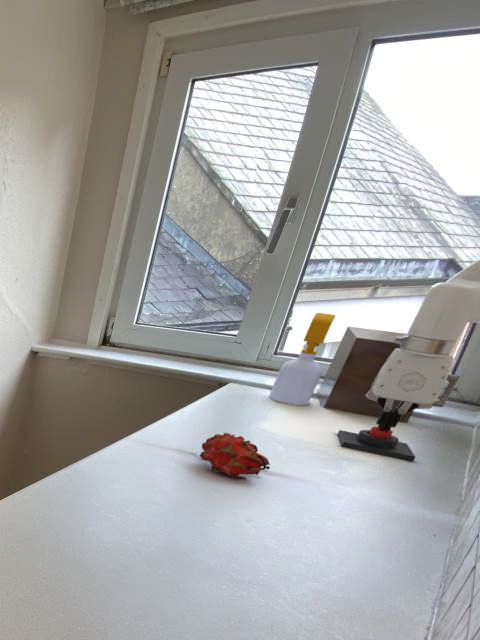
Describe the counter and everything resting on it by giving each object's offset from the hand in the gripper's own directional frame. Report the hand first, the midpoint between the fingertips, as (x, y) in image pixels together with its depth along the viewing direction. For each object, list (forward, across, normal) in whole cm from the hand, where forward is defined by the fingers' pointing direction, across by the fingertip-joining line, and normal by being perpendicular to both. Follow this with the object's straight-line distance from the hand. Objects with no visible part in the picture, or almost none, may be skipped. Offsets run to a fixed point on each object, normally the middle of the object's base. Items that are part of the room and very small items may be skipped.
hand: (383, 428), depth 121 cm
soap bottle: (+6, -15, +32) cm, 36 cm away
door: (+6, +12, +42) cm, 44 cm away
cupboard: (+6, +1, +42) cm, 42 cm away
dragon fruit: (+5, -26, -38) cm, 46 cm away
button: (+2, 0, 0) cm, 2 cm away
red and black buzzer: (+6, 0, 0) cm, 6 cm away
